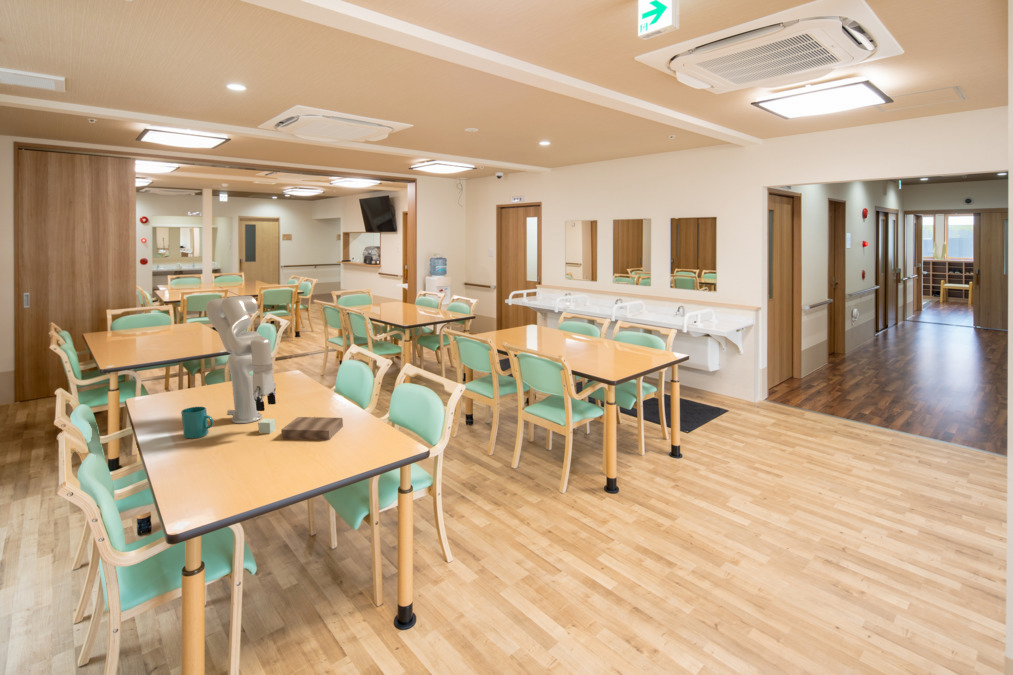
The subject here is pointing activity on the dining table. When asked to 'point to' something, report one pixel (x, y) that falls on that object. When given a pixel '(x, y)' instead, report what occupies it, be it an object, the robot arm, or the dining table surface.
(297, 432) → the walnut plinth
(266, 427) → the sage cube
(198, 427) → the cup
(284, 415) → the dining table surface
